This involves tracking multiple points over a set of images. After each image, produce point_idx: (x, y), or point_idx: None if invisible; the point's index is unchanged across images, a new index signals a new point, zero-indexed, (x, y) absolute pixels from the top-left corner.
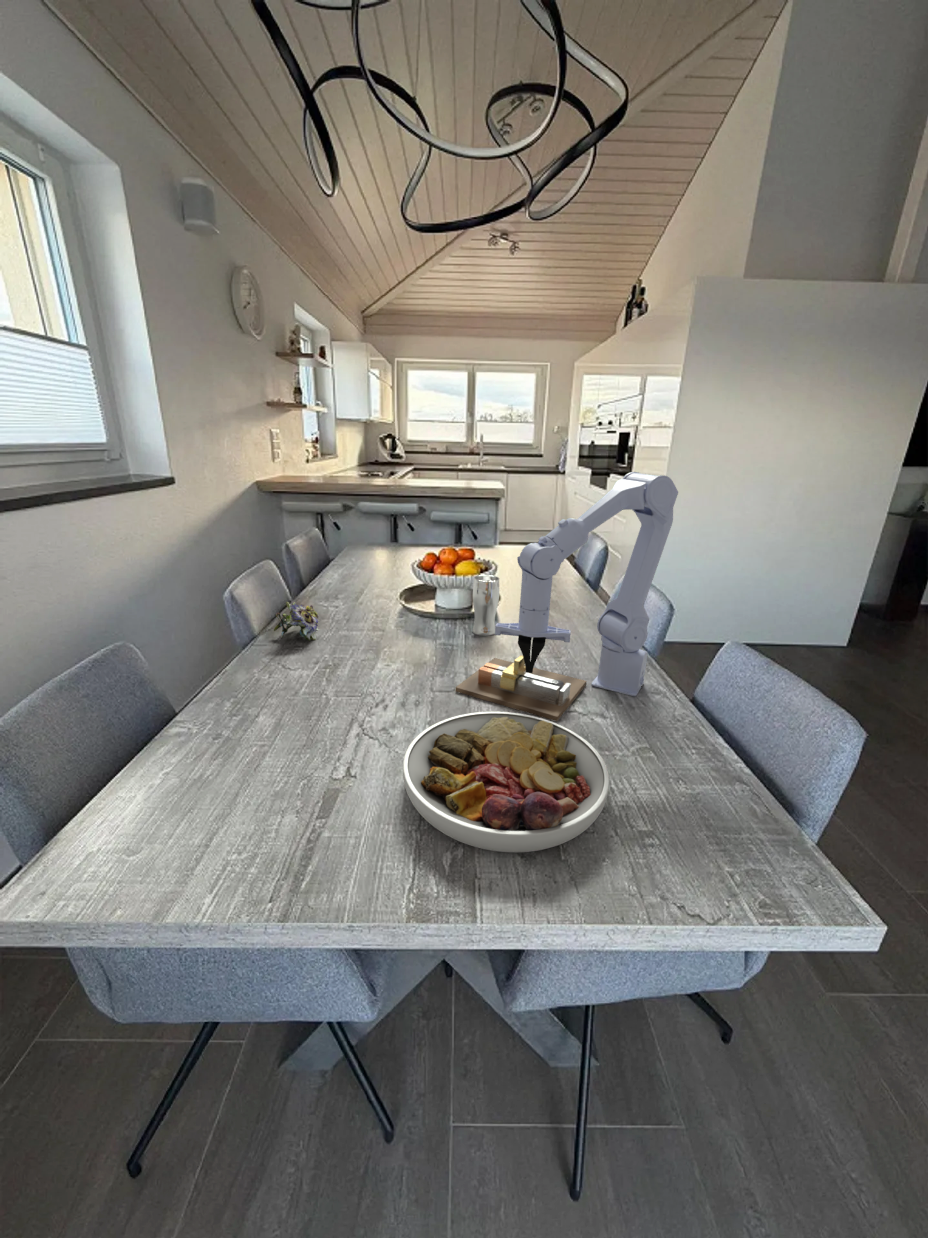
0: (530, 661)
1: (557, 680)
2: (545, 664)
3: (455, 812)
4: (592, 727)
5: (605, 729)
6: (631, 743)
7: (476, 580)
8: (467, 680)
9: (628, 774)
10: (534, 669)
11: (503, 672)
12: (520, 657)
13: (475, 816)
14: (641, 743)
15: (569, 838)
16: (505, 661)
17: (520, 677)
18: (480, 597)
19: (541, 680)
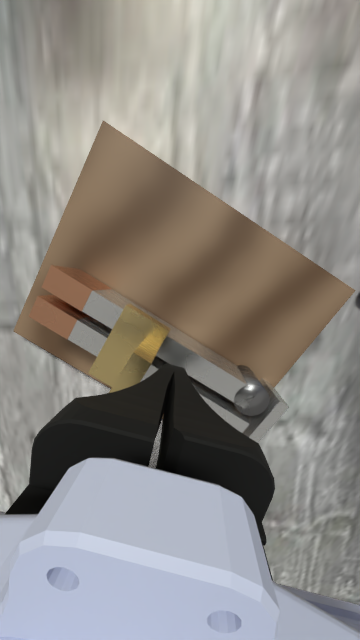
0: (166, 412)
1: (255, 388)
2: (270, 142)
3: None
4: (279, 462)
5: (301, 469)
6: (327, 507)
7: None
8: (35, 295)
9: (283, 564)
10: (220, 214)
11: (92, 375)
12: (129, 376)
13: None
14: (345, 508)
15: None
16: (137, 152)
17: (149, 369)
18: None
19: (207, 385)
